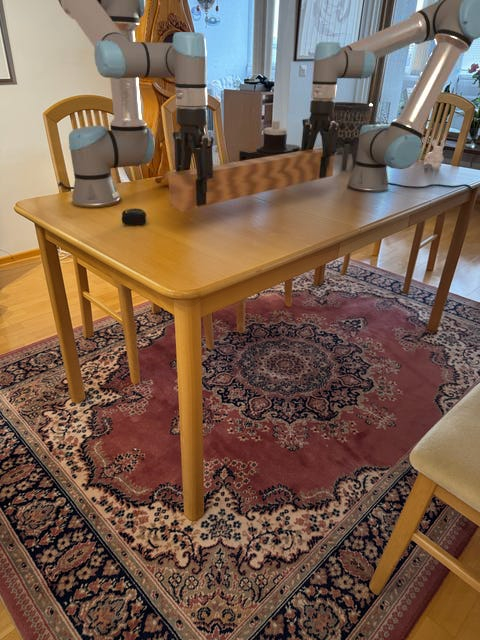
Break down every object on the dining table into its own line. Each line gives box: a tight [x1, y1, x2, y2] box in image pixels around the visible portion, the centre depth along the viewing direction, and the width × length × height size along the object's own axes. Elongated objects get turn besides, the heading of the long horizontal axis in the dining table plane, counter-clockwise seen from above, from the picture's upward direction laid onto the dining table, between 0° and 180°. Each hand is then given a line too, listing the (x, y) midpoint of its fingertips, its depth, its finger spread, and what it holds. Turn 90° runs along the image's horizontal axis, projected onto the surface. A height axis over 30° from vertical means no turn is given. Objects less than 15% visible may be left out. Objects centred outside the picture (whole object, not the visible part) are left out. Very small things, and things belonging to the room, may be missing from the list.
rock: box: [336, 147, 352, 155], centre depth 239 cm, size 13×9×6 cm, turn 131°
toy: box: [154, 169, 176, 187], centre depth 173 cm, size 11×6×15 cm
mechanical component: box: [238, 120, 301, 161], centre depth 191 cm, size 22×21×30 cm
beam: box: [168, 147, 336, 212], centre depth 136 cm, size 65×5×9 cm, turn 134°
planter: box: [329, 101, 374, 172], centre depth 204 cm, size 20×20×26 cm
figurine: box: [422, 138, 446, 171], centre depth 207 cm, size 8×15×13 cm, turn 146°
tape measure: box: [121, 207, 147, 226], centre depth 133 cm, size 7×7×4 cm
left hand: (194, 202), depth 122 cm, fingers closed on beam, 5 cm apart
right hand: (315, 175), depth 154 cm, fingers closed on beam, 5 cm apart
